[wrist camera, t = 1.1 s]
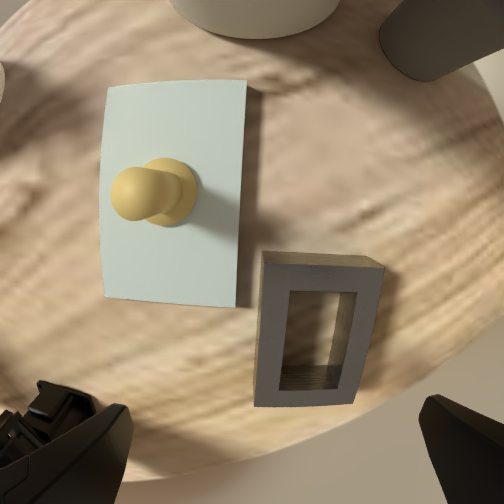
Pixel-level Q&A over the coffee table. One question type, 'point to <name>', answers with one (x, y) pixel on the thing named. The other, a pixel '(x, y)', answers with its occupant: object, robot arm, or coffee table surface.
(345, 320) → the link
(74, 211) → the coffee table surface
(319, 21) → the cylinder vase
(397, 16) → the bottle
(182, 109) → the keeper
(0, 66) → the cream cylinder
